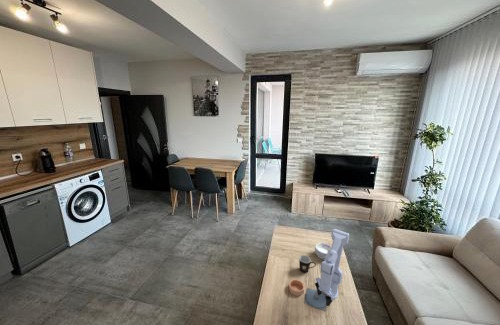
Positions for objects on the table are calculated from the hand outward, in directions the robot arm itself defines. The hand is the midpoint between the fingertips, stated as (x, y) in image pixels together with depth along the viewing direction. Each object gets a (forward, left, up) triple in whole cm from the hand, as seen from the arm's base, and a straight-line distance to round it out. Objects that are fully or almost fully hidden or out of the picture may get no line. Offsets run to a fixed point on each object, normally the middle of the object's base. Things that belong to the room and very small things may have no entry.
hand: (323, 299), depth 120 cm
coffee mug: (-30, -15, -10) cm, 35 cm away
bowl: (-10, -18, -10) cm, 23 cm away
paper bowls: (-54, -4, -10) cm, 55 cm away
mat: (-8, -5, -10) cm, 14 cm away
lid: (-8, -5, -10) cm, 13 cm away
